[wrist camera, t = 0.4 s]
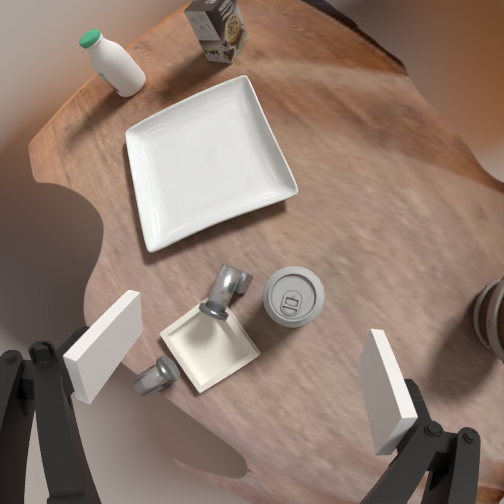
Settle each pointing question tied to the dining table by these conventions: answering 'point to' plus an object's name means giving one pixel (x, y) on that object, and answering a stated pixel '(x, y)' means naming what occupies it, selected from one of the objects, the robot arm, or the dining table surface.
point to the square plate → (205, 163)
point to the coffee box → (218, 28)
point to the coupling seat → (209, 346)
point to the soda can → (293, 296)
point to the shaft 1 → (157, 376)
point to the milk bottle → (113, 64)
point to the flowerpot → (491, 317)
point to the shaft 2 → (225, 291)
